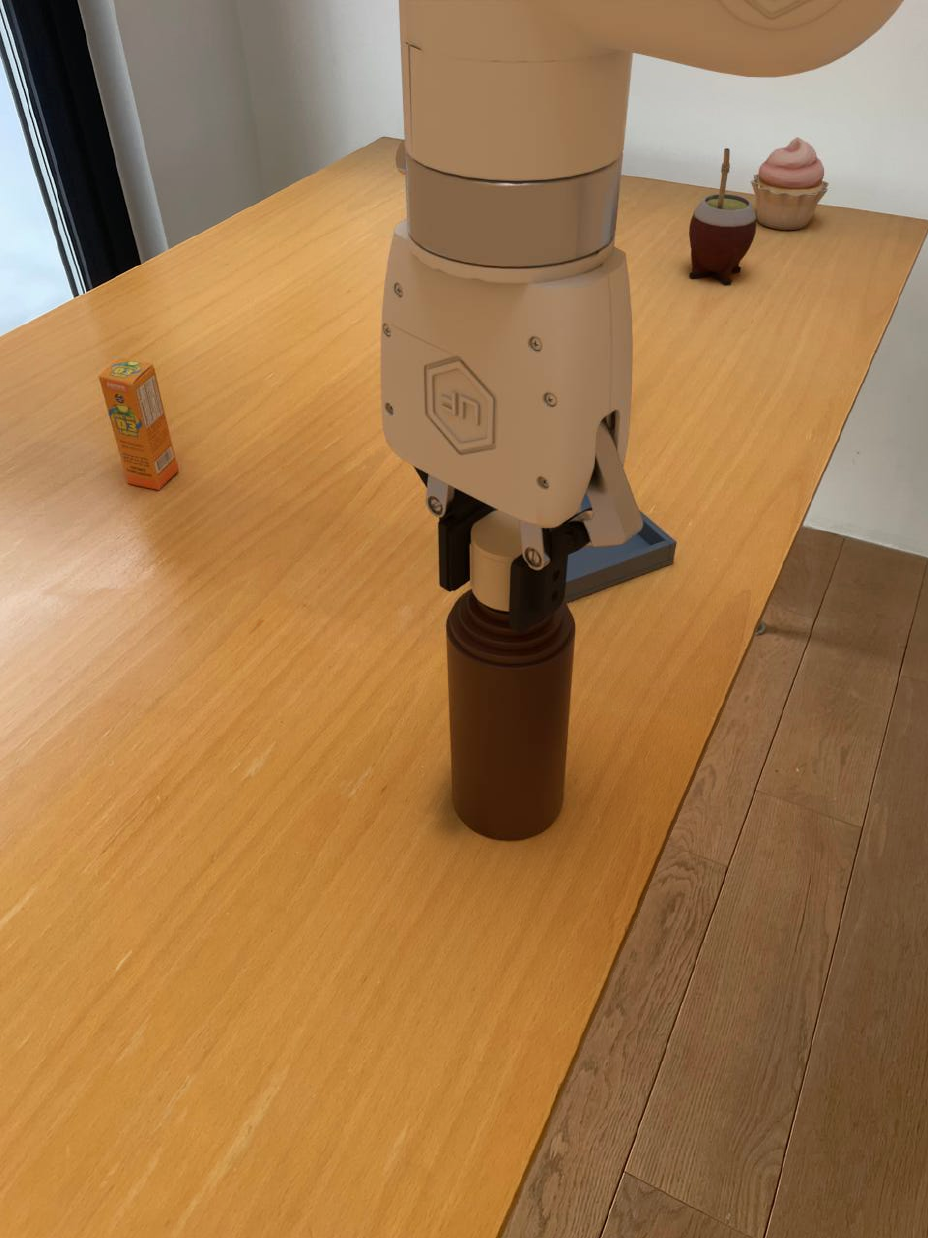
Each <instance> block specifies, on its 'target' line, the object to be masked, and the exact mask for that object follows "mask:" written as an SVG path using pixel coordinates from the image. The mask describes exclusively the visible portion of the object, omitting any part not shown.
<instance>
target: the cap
mask: <svg viewBox="0 0 928 1238" xmlns="http://www.w3.org/2000/svg"><path fill="white" fill-rule="evenodd" d="M521 554H522V547H521V537H520V527H519V520H518V519H516V518H514V517H512V516H510V515H508V514H506V513H504V512H502V511H500V510H497V511H493V512H491V513H490V514H488V515H487V516H485V517H483V518H482V519H480V520H479V521H477V522H476V523H474V525H473V526H472V529H471V544H470V581H469V586H470V587H471V588H472V591H473V593H474V595H475V597H476V598H477V599H478V600H479V601H480V602H481V603H483V604H484V605H486V606H488V607H490V608H493V609H497V610H501V611H509V597H510V570H511V564H512V562H513V560H514V559H516V558H517V557H518V556H520V555H521ZM471 588H470V589H471Z"/></svg>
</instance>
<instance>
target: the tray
mask: <svg viewBox="0 0 928 1238" xmlns="http://www.w3.org/2000/svg"><path fill="white" fill-rule="evenodd" d="M581 508H582V511H584V510H586V509H588V508H592V507H591V504H590V501H589V499H588V496H587V494H586V493H585V495H584V498H583V500H582V503H581ZM497 510H498V509H496V508H494V511H497ZM639 512H640V514H641V517H642V520H643V528H642V529H641V530H640V531H639V532H638V533H636V534H635V535H634V536H632V537H631V538H630V539H629V540H627V541H626V542H625V543H623V544H621V545H613V546H602V547H593V546H588V547H583V548H581V549H580V550H579V551H576V552H574V553H572V554H570V555H568V564H567V576H566V588H565V597H564V601H565V602H566V604H568V603H571V602H573V601H576V600H578V599H581V598H583V597H584V598H585V597H587V596H589V595H592V594H595V593H597V592H601V591H602V590H605V589H608V588H611V587H613V586H616V585H618V584H621V583H624V582H627V581H629V580H632V579H635V578H638V577H640V576H643V575H645V574H648V573H652V572H653V571H656V570H658V569H662V568H664V567H667V566H670V565H672V564H674V560H675V554H676V549H677V544H678V541H677V540H675V539H674V538H673V537H672V536H671V535H669V534H668V533H667V532H666V531H665V530H664V529H662V528H661V526H659V525H658V524H657V523H655V522H654V521H653V520H652V519H651V518H650V517H648V516H647V515H646V514H645V513H644V512H643V511H641V510H640V509H639Z"/></svg>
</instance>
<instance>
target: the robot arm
mask: <svg viewBox="0 0 928 1238" xmlns="http://www.w3.org/2000/svg"><path fill="white" fill-rule="evenodd" d="M904 1H905V0H398V12H399V13H398V14H399V15H398V17H399V19H398V20H399V36H400V37H399V43H400V65H401V86H402V87H401V89H402V105H403V106H402V111H403V135H404V140H403V141H401V143H400V144H399V146H398V148H397V150H396V154H395V166H396V168H397V171H398V172H399V173H400V174H401V175H402V176H405V201H406V218H405V219H403V220H401V221H400V222H398V224H396V226H395V227H394V230H393V234H392V237H391V239H392V240H391V242H390V247H389V252H388V258H387V264H386V272H385V279H384V286H383V295H382V307H381V324H380V325H381V326H380V361H379V362H380V363H379V364H380V373H379V374H380V410H381V423H382V424H381V425H382V431H383V436H384V440H385V442H386V444H387V445H388V447H389V449H390V450H392V452H394V454H395V455H396V456H397V457H399V458H400V459H401V460H403V461H404V462H406V463H408V464H409V465H411V466H412V467H413V468H414V470H415V471H416V474H417V475H418V476H419V479H420V481H422V483H423V485H424V486H425V488H426V492H425V493H426V494H425V504H426V507H427V509H428V511H429V512H430V513H431V515H433V516H434V517H436V518H438V522H437V537H438V538H437V539H438V541H437V542H438V544H437V545H438V585H439V587H440V588H442V589H443V590H445V591H447V592H449V593H450V592H451V593H452V592H456V591H457V590H458V589H460V588H462V587H463V586H465V585H466V584H467V583H470V544H471V529H472V526H473V525H474V523H476V522H477V521H479V520H480V519H482V518H483V517H485V516H487V515H488V514H490V513H491V512H493V511H494V508H496V509H498V510H500V511H502V512H504V513H506V514H508V515H510V516H512V517H514V518H516V519H518V520H519V527H520V537H521V547H522V554H521V555H520V556H518V557H517V558H516V559H514V560H513V562H512V564H511V570H510V597H509V624H510V627H511V628H512V629H513V630H515V631H517V632H519V633H523V632H525V631H526V630H527V629H529V628H530V627H531V626H532V625H534V624H535V623H536V622H538V621H539V620H540V619H541V618H543V617H544V616H545V617H548V616H550V615H551V614H553V613H554V612H555V611H556V610H557V609H558V608H559V607H560V606H561V604H562V602H563V600H564V597H565V588H566V576H567V564H568V555H570V554H572V553H574V552H576V551H579V550H580V549H581V548H583V547H588V546H593V547H602V546H613V545H621V544H623V543H625V542H626V541H627V540H629V539H630V538H631V537H632V536H634V535H635V534H636V533H638V532H639V531H640V530H641V529H642V528H643V520H642V517H641V514H640V512H639V510H640V509H639V506H638V504H637V501H636V499H635V496H634V493H633V490H632V488H631V485H630V482H629V479H628V477H627V474H626V472H625V469H624V467H625V462H626V457H627V450H628V443H629V435H630V424H631V412H632V411H631V410H632V394H633V365H634V364H633V359H634V357H633V355H634V354H633V352H634V342H633V340H634V338H633V335H634V334H633V312H632V311H633V310H632V297H631V286H630V275H629V269H628V268H629V267H628V262H627V261H628V259H627V253H626V252H625V251H624V250H622V249H620V248H618V247H617V246H615V242H616V241H615V240H616V230H617V220H618V211H619V200H620V189H621V179H622V171H623V170H622V169H623V159H624V149H625V139H626V130H627V129H626V128H627V119H628V109H629V97H630V89H631V88H630V87H631V78H632V69H633V68H632V67H633V58H634V57H633V56H634V54H637V55H641V56H646V57H650V58H655V59H659V60H662V61H668V62H670V63H676V64H680V65H684V66H687V67H692V68H697V69H700V70H704V71H709V72H715V73H720V74H725V75H730V76H731V75H732V76H738V77H745V78H780V77H781V78H782V77H789V76H794V75H799V74H803V73H807V72H811V71H814V70H817V69H818V70H819V69H820V68H823V67H825V66H827V65H830V64H832V63H835V62H836V61H838V60H840V59H842V58H843V57H845V56H847V55H848V54H850V53H851V52H853V51H854V50H856V49H857V48H859V47H860V46H862V45H863V44H864V43H865V42H866V41H868V40H869V39H871V37H873V36H874V35H875V34H876V33H877V32H879V31H880V30H881V29H882V28H883V26H885V24H886V23H887V22H888V21H889V20H890V19H891V18H892V17H893V16H894V15H895V13H896V12H897V11H898V9H899V8H900V7H901V6H902V4H903V3H904ZM585 493H586V494H587V496H588V499H589V501H590V504H591V507H592V508H588V509H586V510H584V511H582V508H581V503H582V500H583V498H584V495H585Z"/></svg>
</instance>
